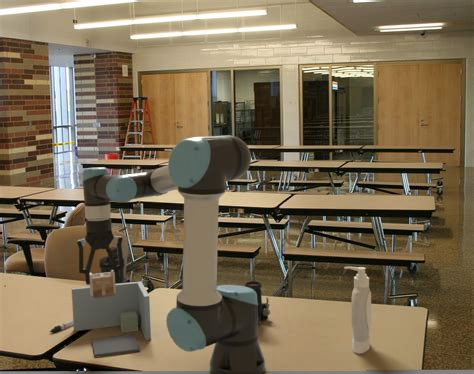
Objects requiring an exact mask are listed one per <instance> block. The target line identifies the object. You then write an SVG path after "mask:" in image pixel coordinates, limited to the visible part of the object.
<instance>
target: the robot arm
mask: <svg viewBox="0 0 474 374" xmlns="http://www.w3.org/2000/svg"><path fill="white" fill-rule="evenodd" d="M251 161H252V156H251V150H250V148H249V146H248V144H247V143H246V142H245V141H243V140H242V139H241V138H240V137H238V136H235V135H229V134H227V135H224V134H223V135H210V136H192V137H189V138H183V139H182V140H180V141H178V142H177V143H176V145H175V146H174V147H173V148H172V149H171V152H170V154H169V157H168V164H167V165H165V166H161V167H159V168H155V169H152V170H149V171H143V172H137V173H126V174H118V175H110V174H109V171H108V168H107V167H105V166H103V167H102V166H101V167H98V166H97V167H87V168H84V169H83V170H82V188H83V190H82V191H83V201H84V214H85V215H84V216H85V219H86V220H85V231H86V235H85V237H84V238H81V239H76V244H77V246H78V272H79V273H80V274H84V277H85V278H84V279H85V284H86V285H89V287H90V294H91V296H93V283H92V274H93V273H92V272H91V269H92V265H93V261H94V256H95V253H96V251H98V250H105V252H106V254H107V256H109V259H110V261H111V264H112V266H113V269H114V270H111V274H112V276H113V287H114V293H116V287H115V282H117V281H118V280H119V277H118V271H119V270H120V269H124V268H125V266H124V264H125V262H124V263H123V258H124V257H123V256H124V254H123V249H122V248H123V247H122V242H123V237H122V235H114V234H113V229H112V219H111V215H112V214H111V202H115V203H118V204H119V203H129V202H131V201H132V200H137V199H142V198H150V197H158V196H162V195H165V194H168V193H169V192H172V191H177V192H178V193H179V194H180V195H181V196H182V197H183V242H182V243H183V244H182V246H183V247H182V249H183V251H182V256H183V257H182V289H181V290H180V291H179V293H177V295H176V302H175V303H176V306H175V307H173V308H172V309H171V310H169V312H168V313H167V315H166V328H167V332H168V334H169V336H170V338H171V340H172V341H173V343H174V344H175V345H176V346H177V347H178V348H179V349H180V350H183V351H184V352H189V353H191V352H192V353H193V352H195V351H198V350H200V351H201V350H204V349H205V348H206V347H209V346H211V345H214V347H213V351H212V353H211V357H210V360H209V371H210V372H211V374H263V373H264V372H265V368H266V361H265V360H266V359H265V358H264V354H263V351H262V349H261V346H260V344H259V343H260V342H259V326H258V303H257V294H256V292H255V290H253V289H251V288H249V287H245V285H239V284H238V285H235V284H221V285H217V283H218V282H217V281H218V279H217V277H218V274H217V273H218V243H219V242H218V240H219V239H218V238H219V236H218V235H219V210H220V209H219V205H220V203H219V202H220V201H219V200H220V198H221V197H222V196H223V195H225V193H226V182H231V181H235V180H238V179H239V178H241V177H242V176H244V175H245V174H246V173H247V172H248V170H249V168H250V166H251ZM113 240H114V244H116V247H117V253H118V260H119V265H116V262H115V260H114V258H113V255H112V253H111V250H110V248H111V247H110V244H111V243H112V242H113ZM86 243H87V244H88V245H89V246H90V248H89V254H88V257H87V262H86V266H85V268H84V247H85V245H86ZM122 254H123V255H122Z"/></svg>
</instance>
